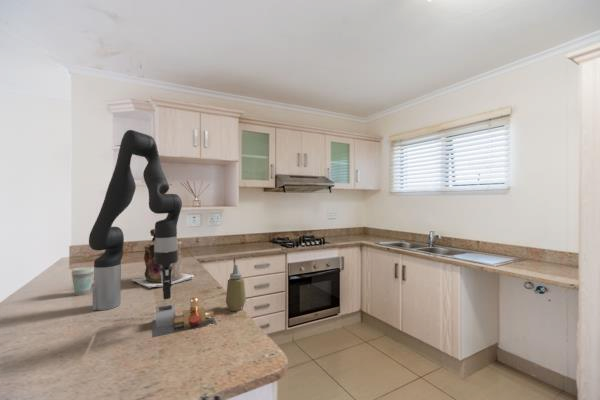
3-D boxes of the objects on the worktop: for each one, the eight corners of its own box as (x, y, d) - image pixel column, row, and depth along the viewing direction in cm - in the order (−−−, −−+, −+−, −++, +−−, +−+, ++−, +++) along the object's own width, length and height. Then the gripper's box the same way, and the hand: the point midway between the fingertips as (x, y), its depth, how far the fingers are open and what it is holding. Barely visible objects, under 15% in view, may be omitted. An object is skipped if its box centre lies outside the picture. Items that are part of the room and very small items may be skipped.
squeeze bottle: (249, 306, 114) (249, 263, 114) (239, 313, 106) (239, 267, 106) (232, 304, 116) (232, 262, 117) (221, 311, 109) (221, 266, 109)
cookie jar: (172, 272, 169) (173, 221, 169) (196, 279, 154) (196, 223, 155) (129, 282, 149) (129, 223, 149) (151, 290, 134) (151, 226, 135)
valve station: (152, 340, 86) (152, 310, 86) (152, 323, 98) (152, 296, 98) (217, 326, 95) (217, 299, 95) (210, 312, 107) (210, 288, 108)
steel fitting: (155, 327, 92) (155, 312, 92) (155, 320, 98) (155, 306, 98) (175, 323, 95) (175, 309, 95) (174, 317, 100) (174, 303, 100)
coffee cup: (71, 297, 124) (71, 271, 124) (70, 293, 130) (71, 268, 130) (94, 293, 130) (94, 268, 130) (93, 289, 136) (93, 265, 136)
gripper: (154, 247, 101) (154, 291, 101) (154, 253, 89) (154, 303, 89) (176, 246, 105) (176, 288, 105) (179, 251, 92) (179, 299, 92)
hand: (166, 295), depth 97 cm, fingers open, 8 cm apart
